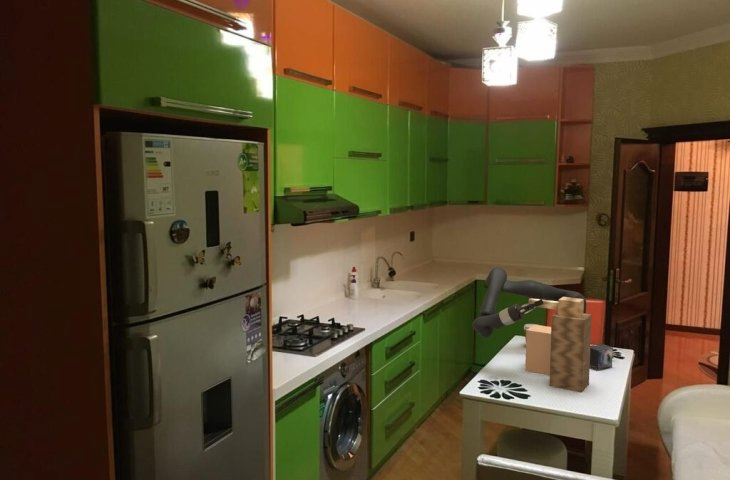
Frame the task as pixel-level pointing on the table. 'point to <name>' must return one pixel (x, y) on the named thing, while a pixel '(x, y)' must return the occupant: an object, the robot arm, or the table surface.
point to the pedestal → (538, 349)
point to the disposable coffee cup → (528, 328)
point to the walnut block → (570, 352)
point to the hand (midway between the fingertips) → (543, 300)
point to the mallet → (564, 306)
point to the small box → (601, 357)
